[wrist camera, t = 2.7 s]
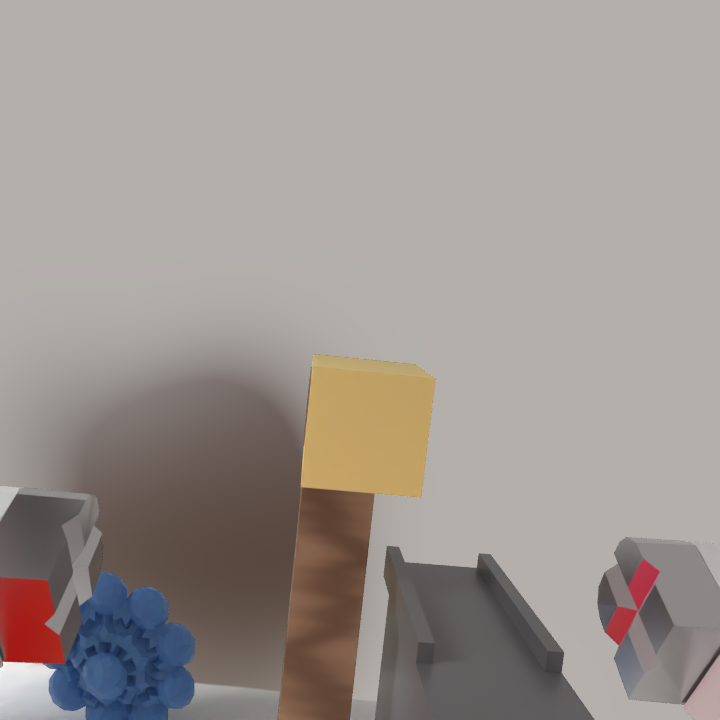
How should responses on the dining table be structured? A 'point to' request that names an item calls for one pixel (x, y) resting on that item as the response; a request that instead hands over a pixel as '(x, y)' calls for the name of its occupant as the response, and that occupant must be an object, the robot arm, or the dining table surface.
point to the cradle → (467, 648)
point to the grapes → (125, 657)
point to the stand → (325, 603)
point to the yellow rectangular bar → (367, 426)
